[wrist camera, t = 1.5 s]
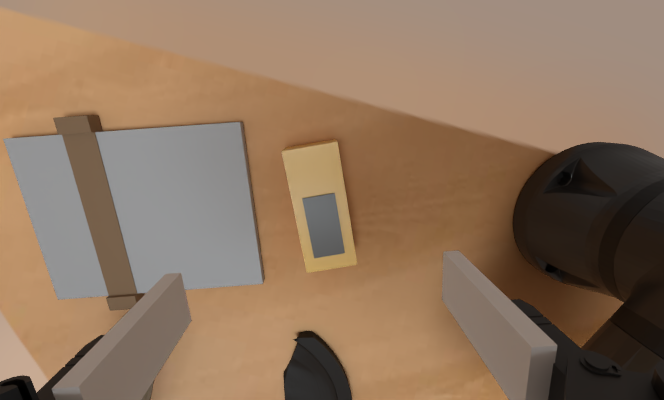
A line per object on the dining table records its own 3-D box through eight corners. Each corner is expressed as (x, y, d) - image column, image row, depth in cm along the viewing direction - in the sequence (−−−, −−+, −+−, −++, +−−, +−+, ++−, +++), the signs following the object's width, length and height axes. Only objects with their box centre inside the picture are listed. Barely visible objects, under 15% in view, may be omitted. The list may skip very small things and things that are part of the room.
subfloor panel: (240, 105, 29) (235, 104, 28) (266, 291, 34) (263, 298, 33) (8, 122, 29) (-9, 122, 27) (69, 306, 34) (58, 314, 33)
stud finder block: (335, 138, 31) (337, 141, 26) (353, 247, 34) (357, 265, 30) (286, 147, 31) (281, 151, 27) (308, 255, 34) (306, 273, 30)
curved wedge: (350, 326, 36) (352, 335, 35) (350, 415, 40) (352, 427, 38) (281, 329, 36) (279, 338, 35) (287, 418, 40) (285, 430, 38)
